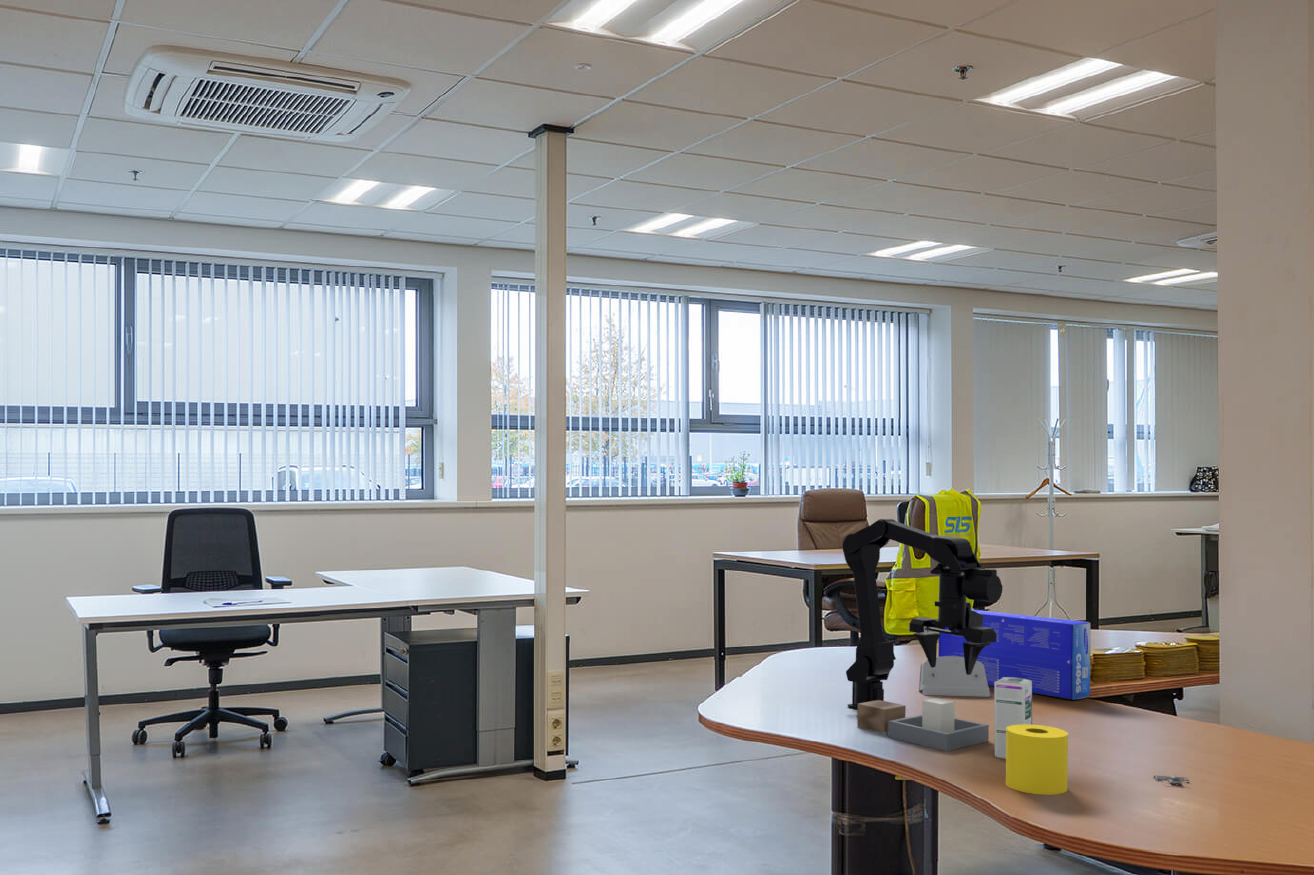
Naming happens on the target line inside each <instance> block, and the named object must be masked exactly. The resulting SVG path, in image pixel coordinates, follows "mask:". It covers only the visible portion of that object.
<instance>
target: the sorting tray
mask: <svg viewBox="0 0 1314 875" xmlns="http://www.w3.org/2000/svg"><path fill="white" fill-rule="evenodd" d="M989 727H990V726H989V724H986V723H981V722H976V721H971V720H967V719H963V718H956V717H954V731H951V732H946V733H945V732H941V731H936V730H932V729H927V728H923V727H922V714H918V715H913V716H908V717H907V716H906V717H905V718H902V719H896V720H891V721H888V736H887V737H888V738H891V739H895V740H900V741H903V742H908V743H912V744H915V745H919V746H923V747H929V748H931V749H932V748H933V749H935V750H940V751H944V752H948V751H951V750H953V751H954V750H956V749H961V748H964V747H965V748H966V747H970V746H973V745H974V746H975V745H977V744H982V743H986V742H989V740H990V739H989V737H990V736H989V733H990V732H989Z"/></svg>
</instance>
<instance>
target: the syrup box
mask: <svg viewBox="0 0 1314 875" xmlns="http://www.w3.org/2000/svg"><path fill="white" fill-rule="evenodd" d="M993 688H994V690H993V691H994V698H993V699H994V701H993V702H994V757H995V758H998V759H1005V760H1006V728H1007V727H1008V726H1011V725H1019V724H1030V725H1033V693H1032V681H1031V680H1029V679H1023V678H1014V677H1003V678H1002V679H1000V680H998V681H995V682H994V687H993Z"/></svg>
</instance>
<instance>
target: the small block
mask: <svg viewBox="0 0 1314 875" xmlns="http://www.w3.org/2000/svg"><path fill="white" fill-rule="evenodd" d="M955 703H956V702H955V701H953V700H949V699H943V698H939V697H938V698H937V697H934V698H928V699H922V713H921V715H922V727H923V728H927V729H932V730H936V731H941V732H945V733H946V732H951V731H954V718H956V717H955V705H956V704H955Z"/></svg>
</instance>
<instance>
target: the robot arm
mask: <svg viewBox="0 0 1314 875" xmlns="http://www.w3.org/2000/svg"><path fill="white" fill-rule="evenodd" d="M890 541H894V542H897V543H900V544H903V545H905V546H908V547H911V548H913V549H917V550H919V551H922V552H924V553H925V554H927V556H929V558H930V559H931V560H934V561H935V562H937V565H936V566H935V567H934V568H932V569H931V570H930V572H929V573H930V574H932V575H937V576H939V577H938V578H939V580H938V600H935V601H934V607H937V608H938V611H937V612H938V614H937V616H938V617H937V618H931V617H915V618H911V620H910V622H909V623H908V626H909V628H908V631H909V632H911V633H913V637H916V639H917V641H918V643H919V645H920V646H921V648H922V650H923V653H924V655H925V657H926V658H927V659H926V660H928V662H929V664H930V666H931V667H932V668H934V667H935V666H936V658H937V656H938V654H937V650H938V649H937V648H938V646H937V645H938V642H939V637H940V635H941V634H940V633H946V634H952V635H958V636H963V637H964V638H965V639H966V641H967V642H965V643H963V650H964V661H965V670H966V674H967V675H971V673H972V670H973V668H974V665H975V663H976V660H977V658H978V656H979V654H980V652H981V650H982V649H983V648H984V647H985V646H988V645H990V644H991V642H996V632H995V630H994V629H993V628H988V627H982V624H983V620H984V616H983V615H981V614H979V613H977V612H975V611H972V610H973V609H972V605H971V602H968V601H967V599H968V600H971V601H979V602H986V603H993V604H994V603H997V602H999V600H1000V599H1001V596H1002V593H1003V588H1004V587H1003V584H1002V581H1001V578H1000V577H999V575H998V572H997V571H998V570H997V569H995V568H983V567H982V565H981V563H980V561H979V560H978V558H977V556H976V555H975V553H974V551H973V548H972V545H971V542H970V541H969V540H968V539H966V538H964V537H958V536H949V535H948V536H947V535H937V534H933V533H930V532H928V531H925V530H922V529H920V528H916V527H913V526H911V525H908V524H905V523H901V522H898V521H896V520H895V519H894V518H880V519H877V520H876V521H874V522H873V523H871V524H870V525H867V526H866V527H864V528H862V529H859V530H858V531H856V532H855V533H849V534H848V535H847V536H845V538H844V540H843V541H842V546H841V548H842V552H843V557H844V560H845V563H846V564H847V566H848V568H849V569H850V570H851V572H852V575H853V583H854V590H855V591H854V592H855V599H856V600H855V601H856V608H857V616H858V626H859V633H860V634H859V635H860V637H859V640H858V642H857V645H856V648H855V661H854V662H853V664H852V665H850V666H849V667H848V669H847V670H846V671H845V675H846V678H847V681H848V682H852V693H851V694H852V695H851V696H852V699H851V700H852V703H848V704H847V708H852V709H857V710H858V704H859V703H864V702H870V701H875V700H882V701H885V700H884V698H885V689H884V688H883V687H884V685H883V684H884V681H888V678H889V675H890V674H891V671H892V669H893V668H894V665H895V660H897V658H896V656H895V652H894V650H895V648H894V647H895V646H894V645H895V644H894V642H893V641H888V640H887V639H886V637H885V636H884V634H883V626H882V618H881V610H880V600H879V592H878V585H877V577H876V569H877V567H878V564H879V562H880V556H881V549H883V548H884V547H885V546H887V545H888V543H889V542H890ZM971 609H972V610H971ZM945 627H947V628H949V629H945ZM957 631H958V632H957ZM939 632H940V633H939Z"/></svg>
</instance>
